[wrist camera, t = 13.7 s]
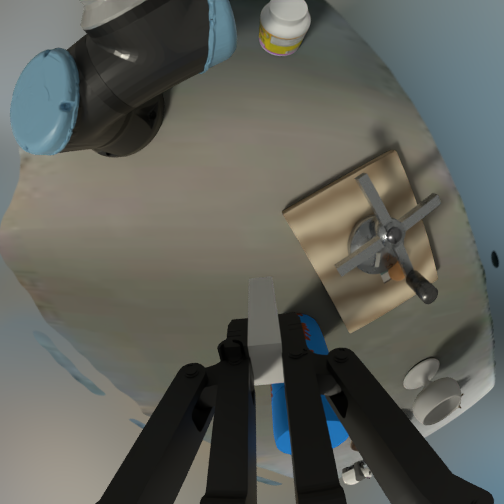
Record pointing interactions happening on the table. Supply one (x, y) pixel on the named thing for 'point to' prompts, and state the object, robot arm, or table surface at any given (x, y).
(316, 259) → the stand base
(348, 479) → the giant panda
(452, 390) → the chalice
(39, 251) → the table surface
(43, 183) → the table surface
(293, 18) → the supplement bottle
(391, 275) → the ball
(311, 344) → the thermos
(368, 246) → the grey cross
